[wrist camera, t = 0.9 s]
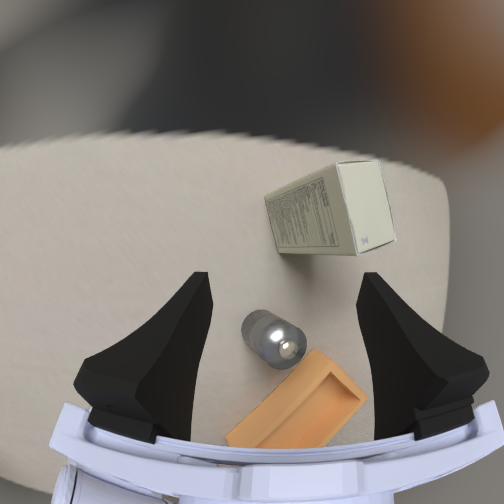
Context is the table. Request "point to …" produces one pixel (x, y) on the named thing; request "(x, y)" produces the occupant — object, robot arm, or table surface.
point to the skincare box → (333, 211)
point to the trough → (302, 408)
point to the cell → (274, 339)
